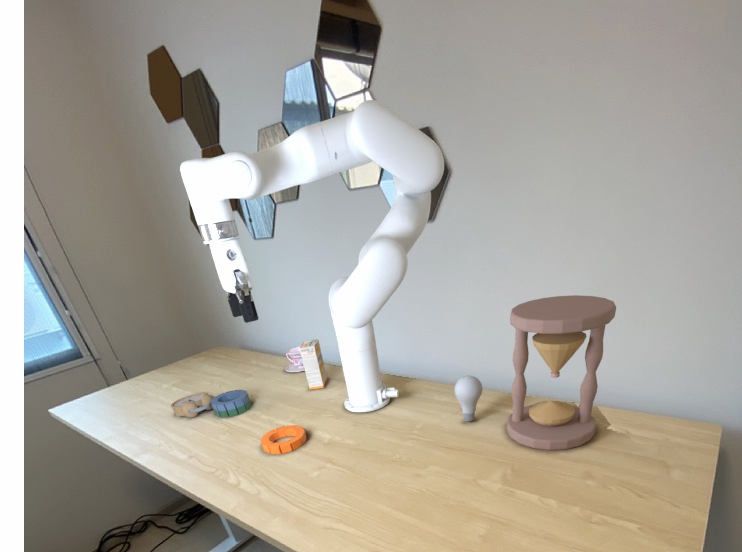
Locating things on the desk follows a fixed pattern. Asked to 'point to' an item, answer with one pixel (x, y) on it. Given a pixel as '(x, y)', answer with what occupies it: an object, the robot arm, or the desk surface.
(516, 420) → the hourglass
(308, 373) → the supplement box
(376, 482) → the desk surface
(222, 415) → the ring stack
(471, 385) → the lightbulb
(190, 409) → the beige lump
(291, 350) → the teacup
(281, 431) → the orange ring
